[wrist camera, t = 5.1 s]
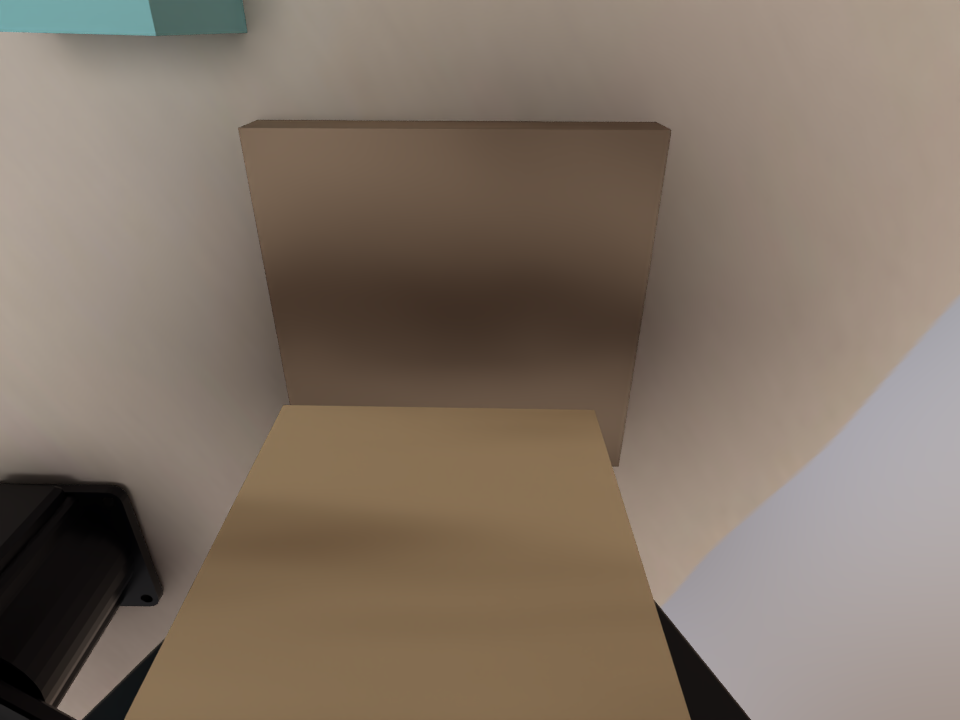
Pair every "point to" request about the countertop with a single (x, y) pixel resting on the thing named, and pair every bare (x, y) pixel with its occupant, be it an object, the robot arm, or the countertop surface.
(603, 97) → the countertop surface
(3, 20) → the teal block
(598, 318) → the walnut board
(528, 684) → the oak block
